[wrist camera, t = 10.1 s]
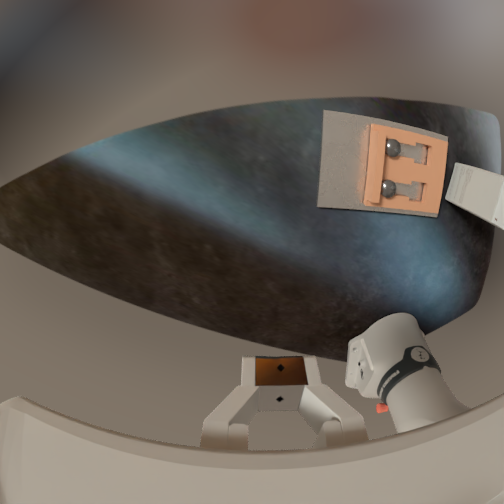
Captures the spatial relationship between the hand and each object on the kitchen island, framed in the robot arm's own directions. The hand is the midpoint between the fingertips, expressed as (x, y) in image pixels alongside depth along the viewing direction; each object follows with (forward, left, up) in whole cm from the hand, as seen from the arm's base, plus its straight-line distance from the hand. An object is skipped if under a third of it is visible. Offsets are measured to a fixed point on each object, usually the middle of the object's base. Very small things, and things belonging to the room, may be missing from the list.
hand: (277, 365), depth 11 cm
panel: (+6, -22, -30) cm, 38 cm away
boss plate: (+6, -19, -31) cm, 37 cm away
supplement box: (+5, -36, -31) cm, 48 cm away
